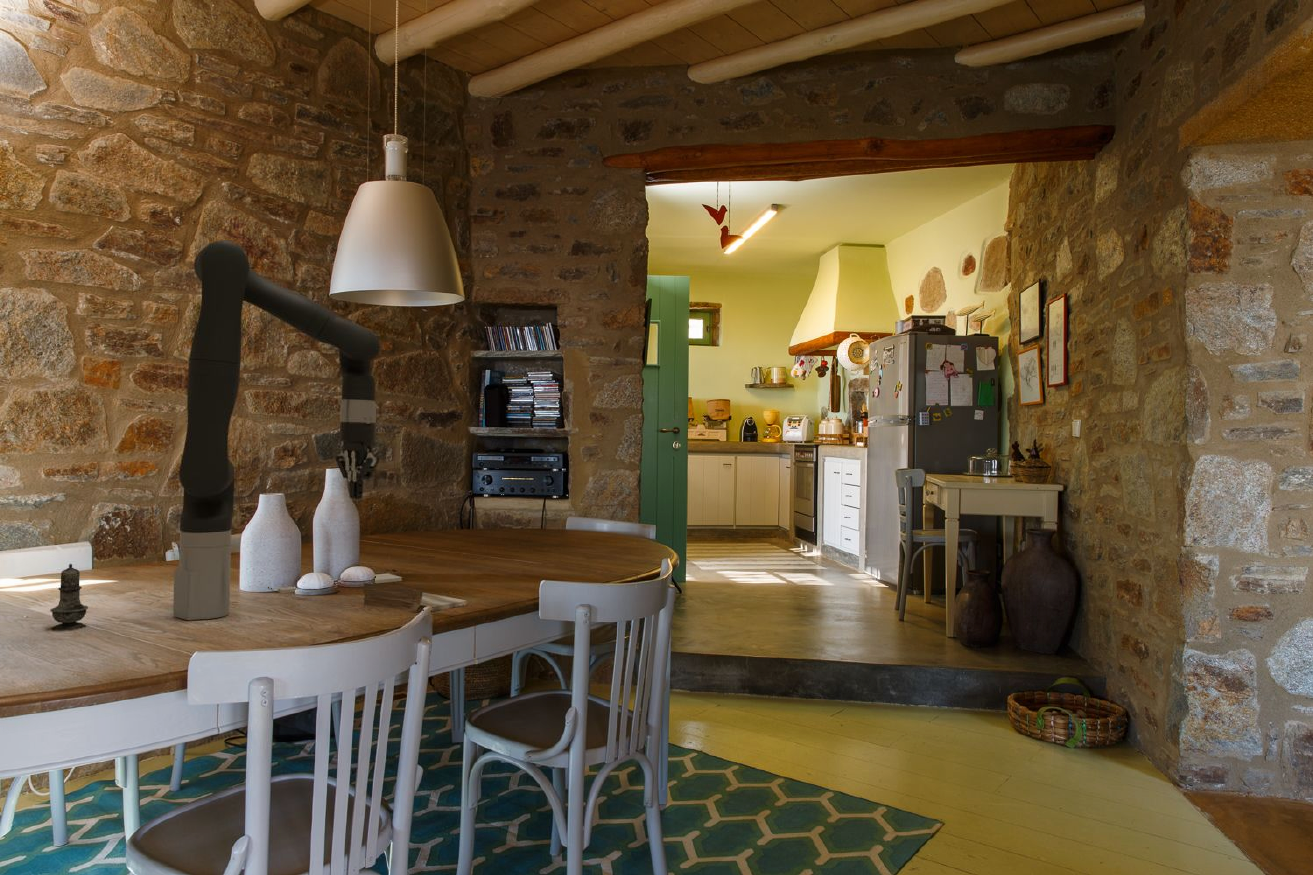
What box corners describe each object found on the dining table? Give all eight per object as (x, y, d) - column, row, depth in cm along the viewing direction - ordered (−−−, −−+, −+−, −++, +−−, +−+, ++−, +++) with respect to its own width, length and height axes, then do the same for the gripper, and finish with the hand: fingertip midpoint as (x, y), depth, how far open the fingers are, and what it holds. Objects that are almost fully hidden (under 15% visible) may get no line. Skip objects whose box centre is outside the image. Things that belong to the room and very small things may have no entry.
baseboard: (265, 589, 205) (280, 596, 198) (265, 577, 205) (281, 583, 198) (384, 577, 226) (402, 583, 219) (384, 566, 226) (402, 571, 219)
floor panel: (431, 611, 182) (431, 607, 182) (371, 599, 193) (371, 595, 193) (466, 604, 190) (466, 600, 190) (406, 593, 202) (407, 589, 202)
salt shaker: (55, 624, 162) (56, 561, 162) (91, 623, 164) (93, 560, 164) (45, 631, 156) (47, 566, 156) (83, 630, 159) (84, 565, 159)
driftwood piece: (359, 606, 187) (360, 583, 187) (365, 604, 189) (366, 581, 189) (416, 613, 181) (417, 589, 181) (422, 611, 183) (423, 588, 183)
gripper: (324, 419, 191) (323, 497, 191) (362, 420, 184) (360, 501, 184) (353, 420, 197) (351, 496, 197) (391, 421, 190) (389, 499, 190)
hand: (355, 498), depth 191 cm, fingers closed
